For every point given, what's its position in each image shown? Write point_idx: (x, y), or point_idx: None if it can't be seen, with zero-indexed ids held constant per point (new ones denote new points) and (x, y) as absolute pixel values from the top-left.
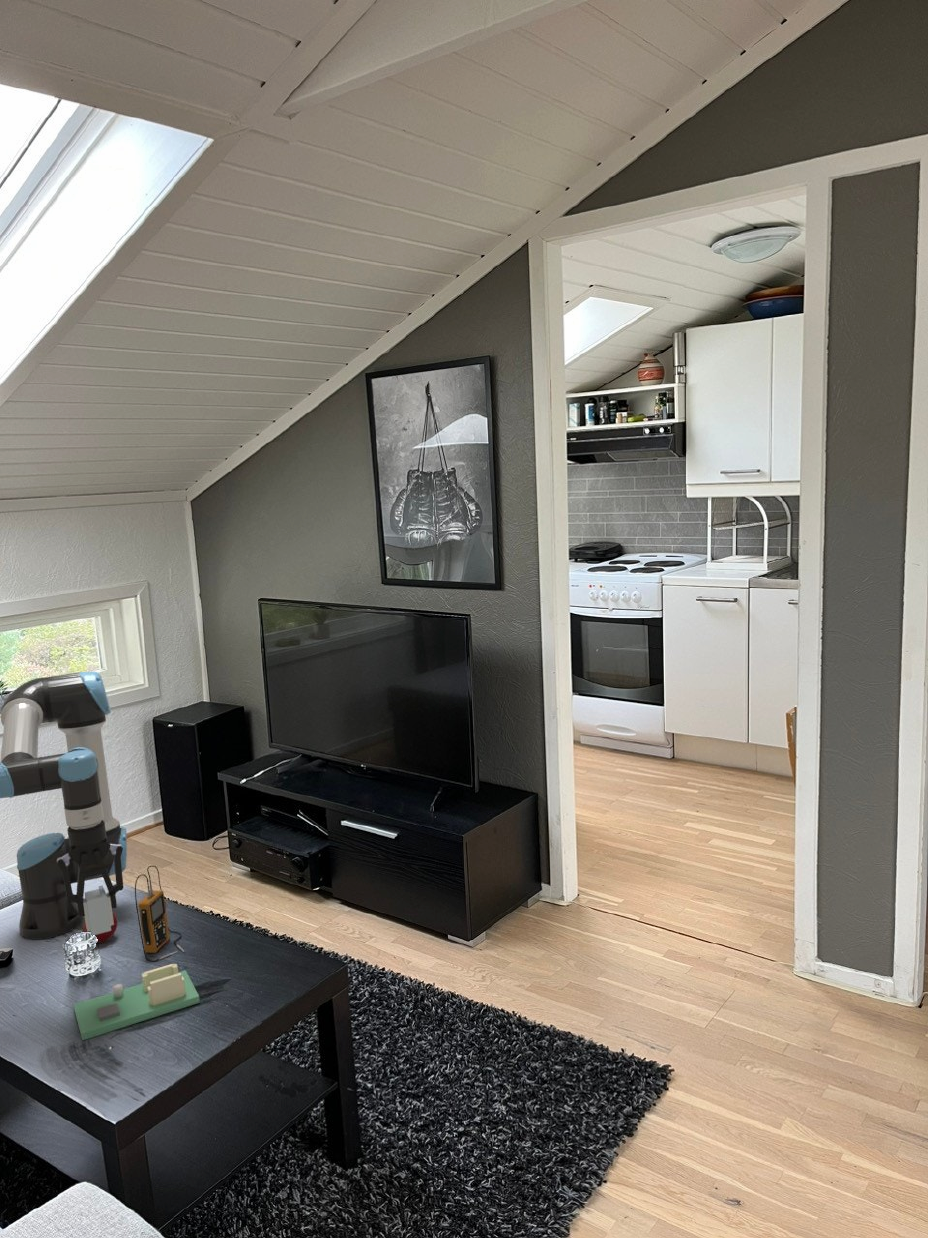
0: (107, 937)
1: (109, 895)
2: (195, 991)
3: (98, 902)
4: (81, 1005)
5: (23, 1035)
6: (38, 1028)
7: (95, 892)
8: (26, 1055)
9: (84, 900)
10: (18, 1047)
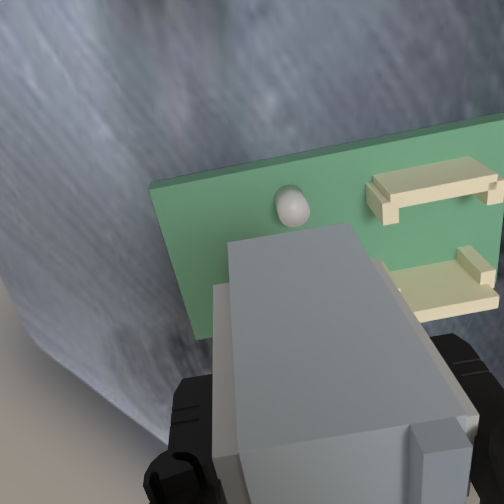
0: None
1: (470, 478)
2: (496, 258)
3: None
4: (175, 206)
5: (25, 254)
6: (60, 235)
7: (361, 490)
8: (68, 339)
9: (239, 496)
10: (33, 302)
